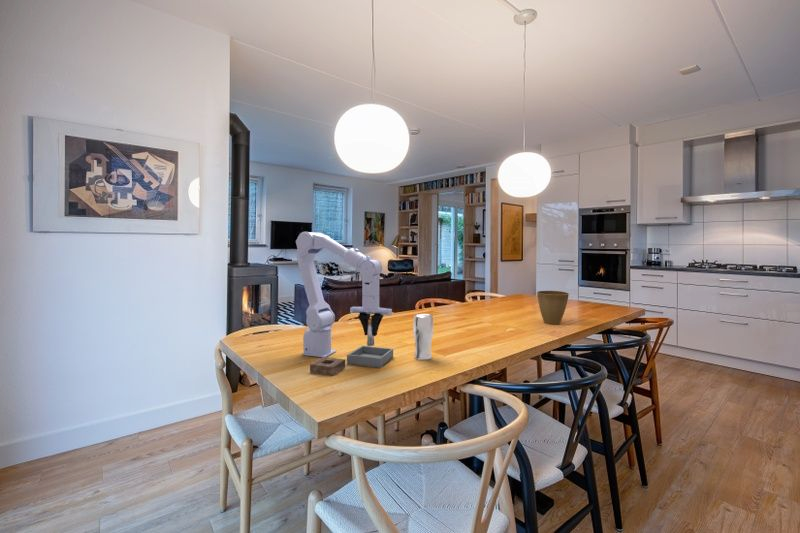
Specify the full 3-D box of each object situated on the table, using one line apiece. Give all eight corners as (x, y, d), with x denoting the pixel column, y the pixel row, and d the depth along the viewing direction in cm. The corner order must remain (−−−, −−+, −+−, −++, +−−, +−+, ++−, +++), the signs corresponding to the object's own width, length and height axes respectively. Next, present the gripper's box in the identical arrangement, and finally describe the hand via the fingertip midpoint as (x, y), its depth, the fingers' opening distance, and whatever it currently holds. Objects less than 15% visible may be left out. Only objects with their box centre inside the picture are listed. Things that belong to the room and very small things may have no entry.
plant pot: (532, 320, 193) (533, 290, 192) (561, 320, 191) (562, 290, 191) (540, 326, 178) (541, 293, 177) (572, 326, 177) (573, 294, 176)
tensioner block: (310, 372, 111) (309, 364, 111) (323, 364, 119) (323, 356, 119) (332, 375, 109) (332, 367, 109) (345, 367, 116) (345, 359, 116)
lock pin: (365, 345, 122) (365, 319, 122) (369, 343, 124) (369, 317, 124) (371, 346, 121) (371, 319, 120) (375, 344, 123) (375, 318, 123)
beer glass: (427, 362, 122) (427, 318, 121) (409, 358, 125) (409, 315, 124) (436, 356, 128) (436, 314, 127) (419, 353, 131) (419, 312, 130)
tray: (346, 363, 119) (346, 354, 119) (362, 353, 131) (362, 345, 131) (380, 368, 115) (380, 358, 115) (393, 357, 127) (393, 348, 127)
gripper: (346, 295, 120) (346, 335, 121) (386, 297, 116) (386, 339, 116) (355, 293, 127) (355, 331, 128) (394, 295, 122) (393, 334, 123)
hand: (370, 335), depth 123 cm, fingers closed on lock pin, 2 cm apart
